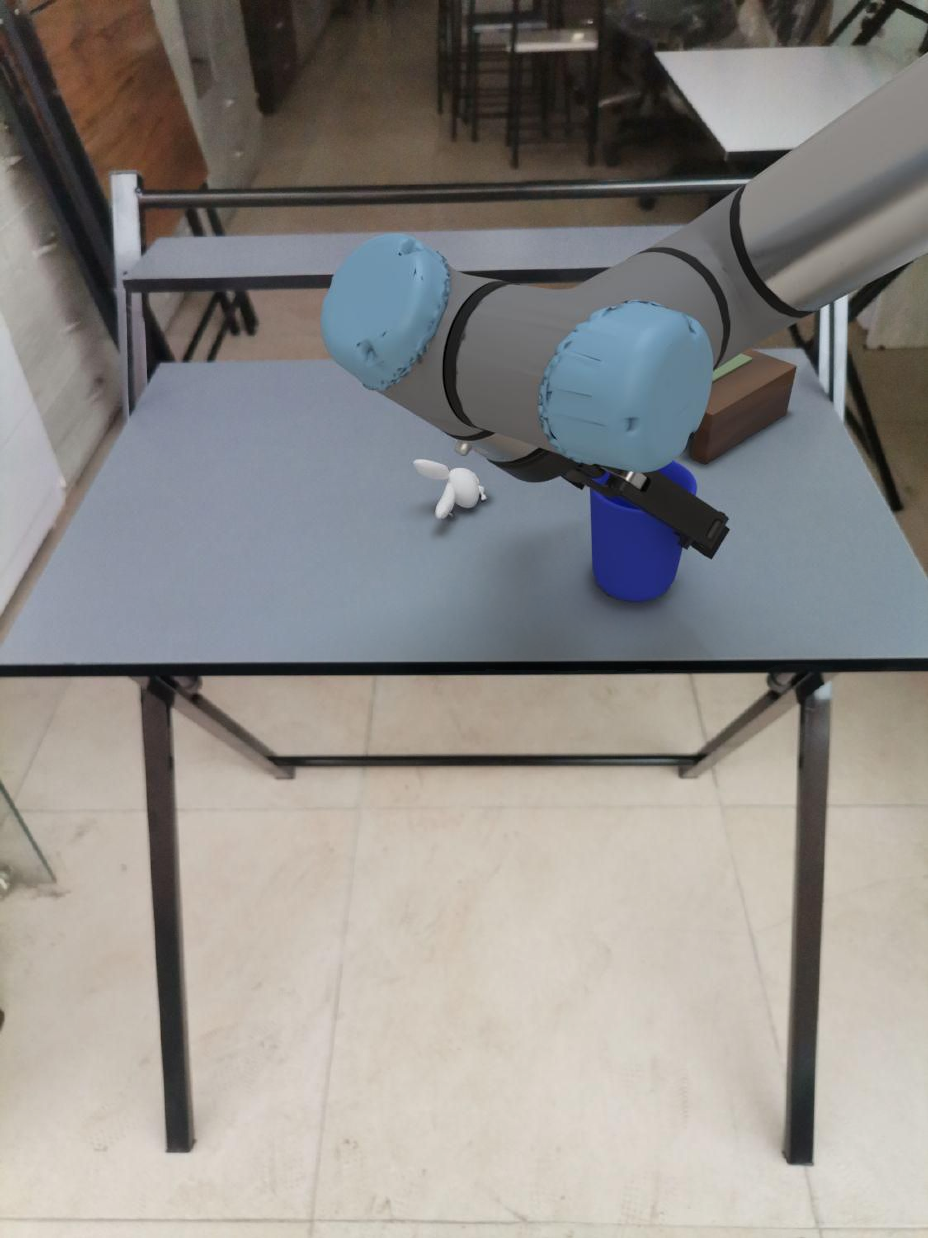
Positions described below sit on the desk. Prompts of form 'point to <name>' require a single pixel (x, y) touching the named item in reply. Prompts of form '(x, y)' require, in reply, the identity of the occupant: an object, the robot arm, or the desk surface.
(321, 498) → the desk surface
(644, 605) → the desk surface
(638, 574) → the mug
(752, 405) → the shelf
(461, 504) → the rabbit figurine
